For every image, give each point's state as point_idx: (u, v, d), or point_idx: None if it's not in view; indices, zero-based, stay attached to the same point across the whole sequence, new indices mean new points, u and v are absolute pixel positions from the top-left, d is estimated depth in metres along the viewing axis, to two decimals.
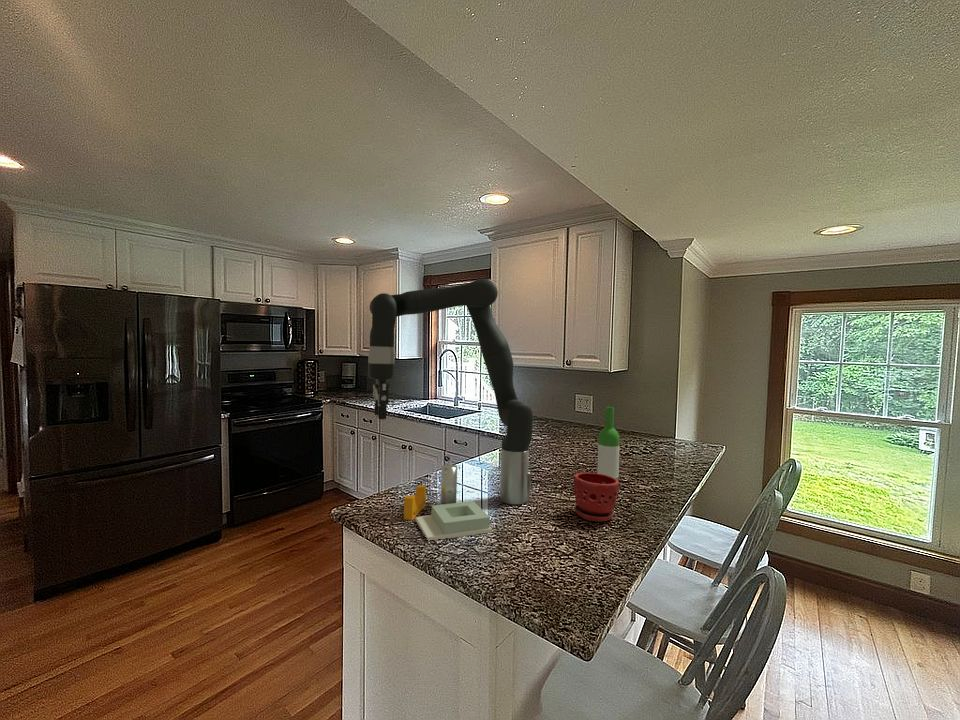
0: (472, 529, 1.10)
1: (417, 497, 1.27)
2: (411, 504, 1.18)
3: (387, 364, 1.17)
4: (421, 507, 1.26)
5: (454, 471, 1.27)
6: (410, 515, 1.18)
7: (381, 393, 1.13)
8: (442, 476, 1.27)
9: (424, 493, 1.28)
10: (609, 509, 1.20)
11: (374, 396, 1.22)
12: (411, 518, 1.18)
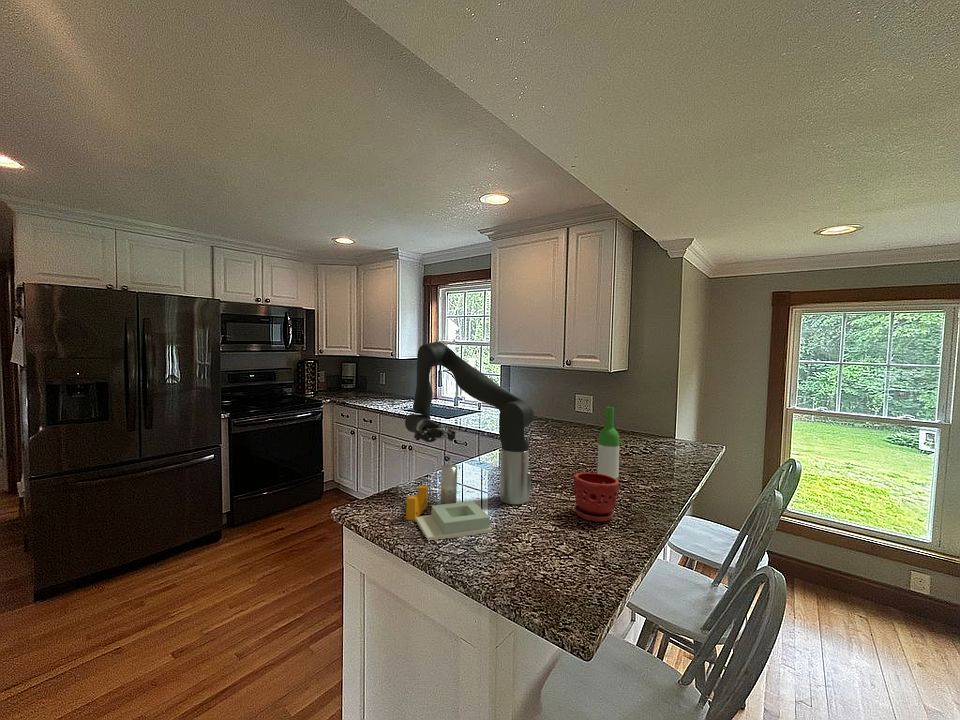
0: (472, 529, 1.10)
1: (419, 497, 1.27)
2: (413, 504, 1.18)
3: (419, 427, 1.52)
4: (423, 507, 1.26)
5: (454, 471, 1.27)
6: (413, 515, 1.18)
7: (414, 437, 1.43)
8: (442, 476, 1.27)
9: (426, 493, 1.28)
10: (609, 509, 1.20)
11: (443, 438, 1.45)
12: (414, 518, 1.18)
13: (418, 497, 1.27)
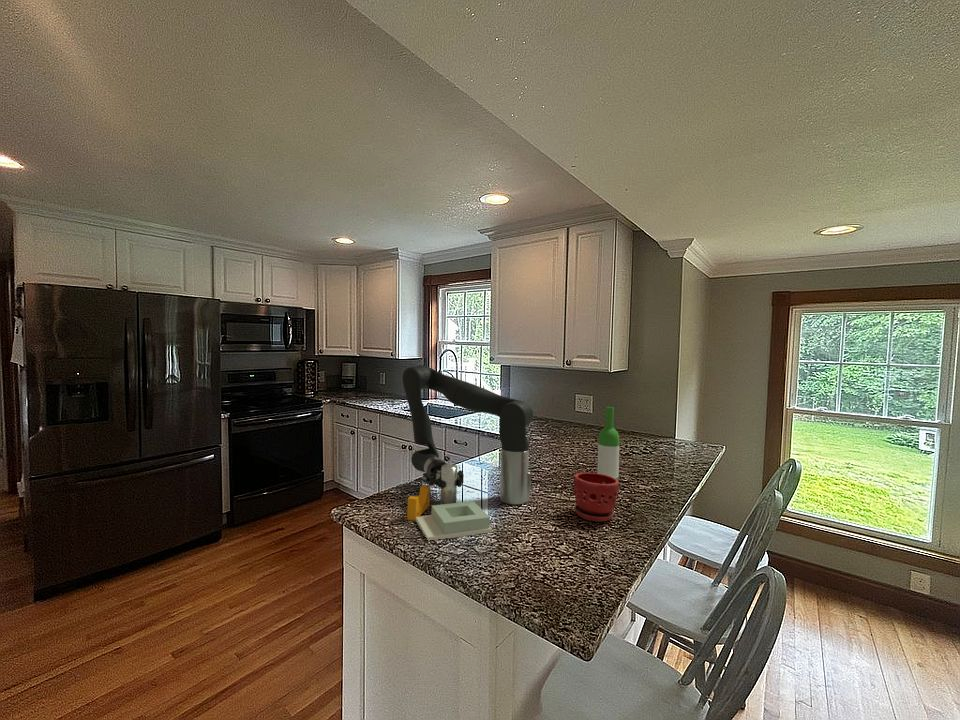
0: (472, 529, 1.10)
1: (421, 497, 1.27)
2: (414, 504, 1.18)
3: (427, 468, 1.40)
4: (425, 508, 1.25)
5: (454, 471, 1.27)
6: (413, 516, 1.18)
7: (426, 481, 1.31)
8: (442, 476, 1.27)
9: (428, 494, 1.28)
10: (609, 509, 1.20)
11: None
12: (414, 519, 1.18)
13: (420, 497, 1.27)
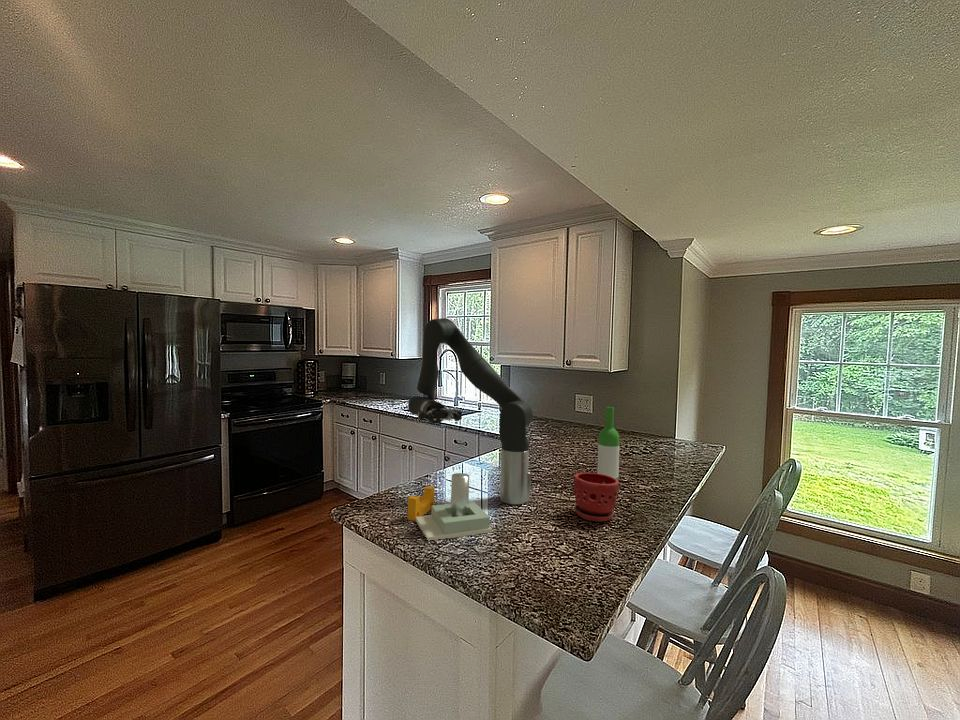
0: (472, 529, 1.10)
1: (425, 498, 1.26)
2: (414, 504, 1.18)
3: (423, 408, 1.43)
4: (428, 508, 1.25)
5: (466, 480, 1.14)
6: (413, 516, 1.18)
7: (418, 417, 1.35)
8: (452, 486, 1.14)
9: (432, 494, 1.27)
10: (609, 509, 1.20)
11: (449, 419, 1.36)
12: (414, 519, 1.18)
13: (424, 498, 1.27)
